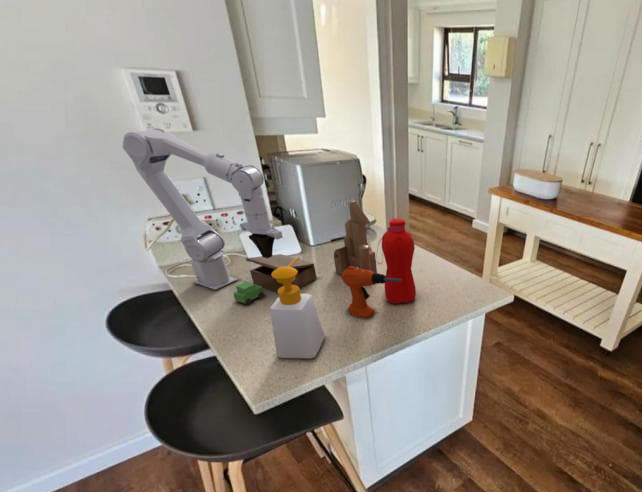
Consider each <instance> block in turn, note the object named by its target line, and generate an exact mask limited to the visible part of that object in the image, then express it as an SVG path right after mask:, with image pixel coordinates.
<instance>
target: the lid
mask: <svg viewBox="0 0 642 492" xmlns="http://www.w3.org/2000/svg"><path fill="white" fill-rule="evenodd" d="M296 258H297V257H292V256H289V255H286V254H282V253H281V254H280V253H278V254H272V257H270V258H264V257H263V256H262V255H260V256H254V257H253V256H252V257H246V258H245V261H246V262H249V263H253V264H256V265H259V266H261V265H262V266H266V267H269V268H272V269H277V268H280V267H288V265H289V264H290V263H291V262H292V261H293V260H294V259H296ZM310 266H314V267H315V263H314V262H311V261H307V260H303V259H298V260H297V261H295V262H294V263H293V264H292V266H291V267H292V268H295V269H298V268H304V267H310Z"/></svg>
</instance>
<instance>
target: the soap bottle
mask: <svg viewBox="0 0 642 492" xmlns="http://www.w3.org/2000/svg"><path fill="white" fill-rule="evenodd" d="M295 258H296V259H294V260H293V261H292V262H291V263H290V264H289V265H288V267H280V268H277V269H276V270H274V271H273V272H272V274H271V276H272V277H273V278H275V279H276V280H277V282H279V283H283V285H284V286H283V287H280V288H279V289H278V292H277V295H278V297H277V298H276V299H275V301H274V302H273V304H272V305H270V309H269V313H270V319H271V326H272V332H273V338H274V345H275V352H276V356H277V357H279V358H281V359H314V358H315V357H317V354H318V352H319V350H320V348H321V346H322V344H323V341H324V340H325V338H326V337H325V333H324V330H323V326H322V323H321V319H320V317H319V314H318V310H317V307H316V303H315V301H314V298H313V295H312V294H310V293H301V288H299V287H298V286H296V285H291V282H292V281H294V280H295V275H297V273H298V271H297V270H296V269H295V268H292V267H291V266H292V264H293V263H294V262H295V261H297V260H298V259H300V258H301V257H300V256H298V257H295ZM300 260H301V259H300Z"/></svg>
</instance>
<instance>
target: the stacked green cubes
mask: <svg viewBox="0 0 642 492" xmlns="http://www.w3.org/2000/svg"><path fill="white" fill-rule="evenodd" d="M235 288H236V291H235V292H233V297H234V301H236V302H239V303H242V304H244V305H247V306H249V305H251V304H252V301H253V300H255V299H257V298H258V299H263V298H264V296H265V291H264V287H262V286H259V285H256V284H254V283H253V282H248V281H244V282H242V283H239V284H238V285H236V286H235Z"/></svg>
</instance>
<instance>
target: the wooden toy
mask: <svg viewBox="0 0 642 492" xmlns="http://www.w3.org/2000/svg"><path fill="white" fill-rule="evenodd" d="M348 206H349V215H350V218H349V219H347V221H346V222H345V224H344V228H345V229H344V230H345V235H344V236H343V243H344V246H341V247H338V248H336V249H335V250H334V251H333V261H334V268H335V273H337V274H339V275H341V276H342V273H343V272H344V271H345V270H346V269H347V268H348V267H350V266H353V267H355V268H359V269H363V270H371V271H373V272H376V273H378V269H377V256H376V252H375V251H374V250H373V249H372V248H371V247H370V245H369V243H368V238H367V237H368V236H367V227H366V225H370V224H371V221H370V219H369V218H368V216H367V215H366V214H365V212H364V211H363V209H362V208H361V207H360V205H359V204H358V202H357V201H356V200H352V201H349V202H348Z"/></svg>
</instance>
